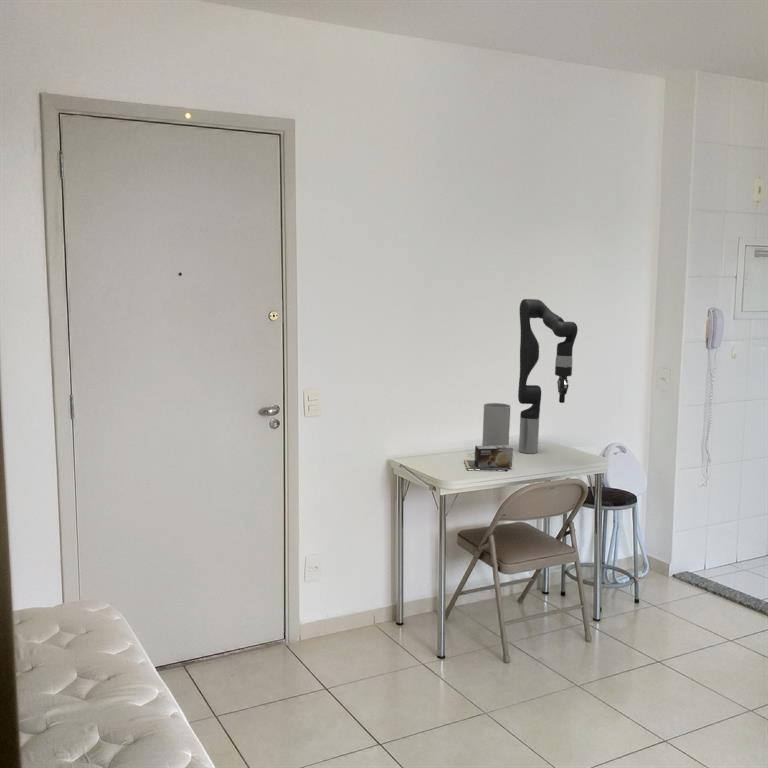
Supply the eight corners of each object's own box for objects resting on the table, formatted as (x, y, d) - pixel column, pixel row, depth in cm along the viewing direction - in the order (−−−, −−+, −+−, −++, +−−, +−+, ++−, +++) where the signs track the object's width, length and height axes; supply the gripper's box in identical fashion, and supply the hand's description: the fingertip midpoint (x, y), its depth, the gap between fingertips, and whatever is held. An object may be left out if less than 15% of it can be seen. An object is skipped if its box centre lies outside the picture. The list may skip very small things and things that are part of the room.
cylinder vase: (476, 455, 381) (478, 404, 378) (495, 452, 389) (497, 402, 385) (494, 460, 371) (497, 408, 368) (513, 457, 379) (515, 406, 375)
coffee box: (508, 444, 361) (474, 445, 358) (513, 447, 355) (478, 448, 352) (507, 464, 362) (473, 464, 360) (512, 467, 356) (477, 468, 353)
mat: (464, 461, 368) (464, 459, 368) (502, 462, 368) (502, 460, 368) (467, 470, 352) (467, 468, 352) (507, 471, 352) (507, 468, 352)
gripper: (552, 363, 368) (550, 400, 370) (558, 366, 355) (556, 404, 357) (568, 363, 368) (566, 400, 370) (575, 367, 355) (573, 405, 357)
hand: (561, 402), depth 364 cm, fingers closed
